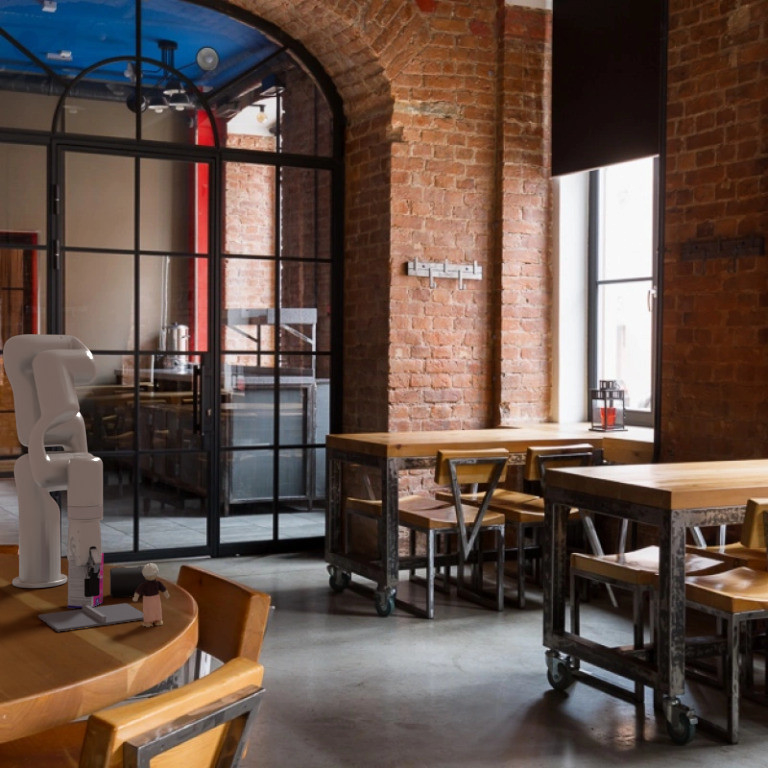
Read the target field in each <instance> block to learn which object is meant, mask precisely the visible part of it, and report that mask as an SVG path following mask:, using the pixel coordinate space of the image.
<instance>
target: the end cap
mask: <svg viewBox="0 0 768 768" xmlns="http://www.w3.org/2000/svg"><path fill="white" fill-rule="evenodd" d="M144 566H145V565H143V566H142V565H139V566H137V567H123V566H121V567H117V566H116V567H113V568H110V569H109V595H110V596H111V598H112V597H120V598H130V597H129V596H134V594H135V591H136V589H137V588H138V586H139V585H140V584H142V583H144V582H147V581H148V580H146V579H145V577H144V576H143V573H142V570H143V567H144ZM155 580H157V577H156V578H155ZM143 595H144V594H142V595H140V596H139V597H143Z"/></svg>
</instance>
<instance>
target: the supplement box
mask: <svg viewBox="0 0 768 768" xmlns="http://www.w3.org/2000/svg"><path fill="white" fill-rule="evenodd" d="M89 555H90V554H89ZM104 555H105V554H104V552H102V556H101V564H100V595H99V596H93V597H85V596H84V579H85V578H86V575H85V569H84V565H83V566H82V567H81V568H80V567H77V566H76V565H75V562H74V556H73V555H71V556H69V561H68V576H67V609H75V608H82V604H87V605H89V606H91V607H92V608H93V607H95V606H96V607H98V606H99V604H100V605H102V604H103V601H104V598H103V597H104ZM92 563H93V562H92V560H91V557H89V558H88V561H87V564H92ZM91 568H93V567H90V568H89V572H90V569H91ZM101 603H102V604H101ZM97 605H98V606H97Z"/></svg>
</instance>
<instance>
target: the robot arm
mask: <svg viewBox="0 0 768 768" xmlns="http://www.w3.org/2000/svg"><path fill="white" fill-rule="evenodd" d="M2 352H3V353H2V360H3V368H4V370H5V373H6V378H7V379H8V381H9V384H10V387H11V390H12V393H13V403H14V404H13V405H14V414H15V425H16V433H17V438H18V441H19V443H20V444H21V445H22V446H24V447H27V448H28V449H27V452H28V453H25V454H23V455H21V456H20V457H18V458H17V459H16V461H15V463H14V466H13V467H14V468H13V475H14V480H15V481H14V482H15V486H16V493H17V494H16V495H17V503H18V505H17V507H18V566H19V567H18V571H19V573H18V574H19V575H18V576H16V577H14V578H13V579H12V586H14V587H16V588H22V589H40V588H42V589H45V588H52V587H57V586H60V585H64V584H66V583H68V576H67V575H66V574H64V573H62V572H61V569H62V567H61V565H62V564H61V510H60V507H59V504H58V503H57V502H56V500H55V499H54V497H52V496H51V494H50V492H51V493H52V492H57V491H58V492H59V491H66V492H67V494H66V498H67V521H68V528H67V529H68V532H67V533H68V534H67V546H66V547H67V550H66V551H67V554H66V556H67V557H66V558H67V559H66V560H68V562H69V556H71V555H73V556H74V562H75V565H76V566H77V567H80V568H81V567H82V566H83V565H84V569H85V575H86V578H85V579H84V596H85V597H93V596H99V595H100V564H101V556H102V553H103V551H102V550H103V549H102V534H101V533H102V532H101V531H102V530H101V522H100V521H103V519H104V463H103V461H102V459H101V458H100V457H98V456H94V455H93V454H92V453H90V452H89V451H88V443H87V442H88V441H87V433H86V424H85V420H84V417H83V415H82V414H81V412H80V409H81V407H80V403H79V400H78V396H77V395H78V394H77V389H76V386H81V385H82V386H83V385H84V386H86V385H91V384H92V383H93V382H94V381H95V380H96V377H97V373H98V372H97V371H98V368H97V367H98V365H97V361H96V360H95V359H96V358H95V357H94V355H93V353H92V352H91V351H90V349H89V348H88V347H87V346H86V345H85V344H84V343H83V342H82V341H81V340H80V339H79V338H77V337H76V336H74V335H70V334H37V333H36V334H34V333H33V334H29V333H27V334H19V335H15V336H11V337H10V338H8V339H7V340H6V341H5V343H4V345H3V351H2ZM46 447H47V448H48V447H62V448H63V450H61V451H60V450H58V451H46ZM89 554H90V555H89ZM89 557H91V560H92V562H93V563H92V564H87V561H88V558H89ZM90 567H93V568H91V569H90V572H89V568H90Z"/></svg>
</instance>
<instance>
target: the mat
mask: <svg viewBox="0 0 768 768" xmlns="http://www.w3.org/2000/svg"><path fill="white" fill-rule="evenodd" d="M38 619H40V620H41V621H42V620H43V622H44V623H45V622H46V623H47V624H46V623H45V624H46V625H47V626H49V627H50V628H52V630H54V629H55V630H54V631H55V632H57V631H58V632H57V633H61V632H60V631H65V632H67V631H66V630H71V629H78V628H85V627H92V626H100V625H107V626H110V625H109V624H114V625H117V624H116V623H121V624H123V623H122V622H128V623H131V622H130V621H134V622H136V621H135V620H141V621H144V619H143V611H141V610H139V609H137V608H135V607H134V606H132V605H131V604H129V603H125V602H124V603H119V604H118V603H117V604H112V605H110V604H109V605H102V606H96V607H94V608H92V607H91V606H89V605H87V604H82V609H73V610H72V609H71V610H65V611H59V612H58V611H57V612H52V613H51V612H50V613H44V614H43V613H42V614H38ZM100 627H101V626H100Z"/></svg>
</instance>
